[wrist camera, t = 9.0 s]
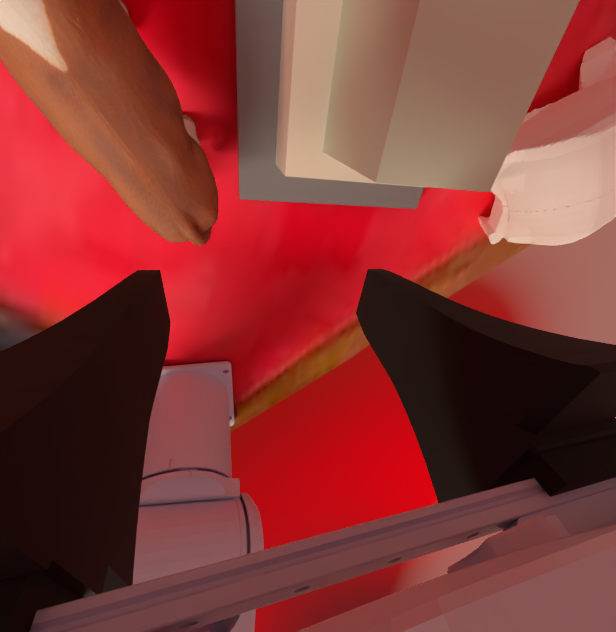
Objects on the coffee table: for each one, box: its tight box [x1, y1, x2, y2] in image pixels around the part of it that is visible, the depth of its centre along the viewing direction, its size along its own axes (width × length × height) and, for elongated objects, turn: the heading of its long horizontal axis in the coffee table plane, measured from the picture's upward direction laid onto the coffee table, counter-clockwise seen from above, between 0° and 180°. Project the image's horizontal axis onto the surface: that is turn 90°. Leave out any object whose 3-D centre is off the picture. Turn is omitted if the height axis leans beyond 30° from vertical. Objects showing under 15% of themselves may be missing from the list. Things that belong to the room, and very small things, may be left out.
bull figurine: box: [0, 0, 218, 245], centre depth 10 cm, size 4×13×8 cm, turn 15°
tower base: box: [235, 0, 427, 209], centre depth 14 cm, size 13×12×4 cm
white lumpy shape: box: [478, 37, 616, 246], centre depth 18 cm, size 9×8×15 cm
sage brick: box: [322, 0, 580, 192], centre depth 10 cm, size 6×4×6 cm
